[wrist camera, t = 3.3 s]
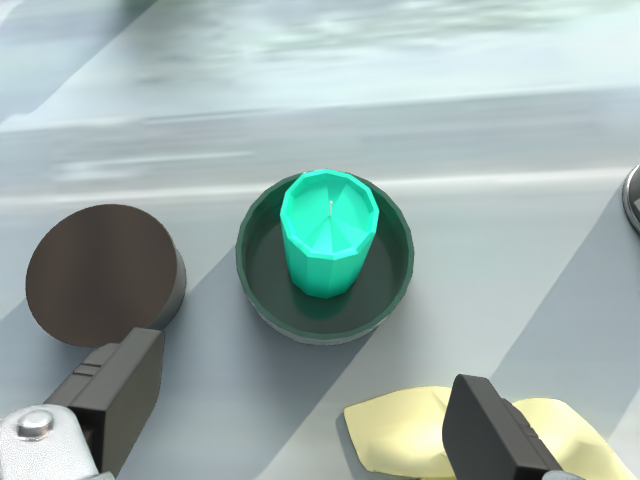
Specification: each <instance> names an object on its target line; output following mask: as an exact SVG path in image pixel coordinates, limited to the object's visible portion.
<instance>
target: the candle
mask: <svg viewBox="0 0 640 480" xmlns="http://www.w3.org/2000/svg"><path fill="white" fill-rule="evenodd" d="M378 215H379V209H378V206H377V204H376V201H375V199H374V197H373V194H372V192H371V190H370V188H369V187H367V186H366V185H364V184H363V183H362V182H360V181H359V180H357V179H356V178H355V177H353V176H352V175H351V174H346V173H342V172H338V171H334V170H330V169H322V170H318V171H313V172H308V173H303V174H302V175H301V176H300V177H299V178H298V179H297V180H296V181H295V182H294V183H293V184H292V185H291V187H290V188H289V189H288V190H287V191H286V192H285V196H284V200H283V204H282V208H281V212H280V219H281V226H282V233H283V241H284V248H285V255H286V262H287V267H288V270H289V273H290V276H291V279H292V282H293V283H294V284H295V285H296V286H297V287H299V288H300V289H301V290H302V291H303V292H304V293H305V294H307V295H310V296H315V297H320V298H324V299H327V298H331V297H334V296H337V295H340V294H343V293H345V292H346V291H347V290H348V289H349V287H350V286H351V285H352V284H353V283H354V282H355V281H356V279H357V278H358V275H359V273H360V270H361V268H362V265H363V263H364V261H365V258H366V256H367V253H368V251H369V248H370V246H371V243H372V241H373V238H374V236H375V233H376V228H377V221H378Z"/></svg>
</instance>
